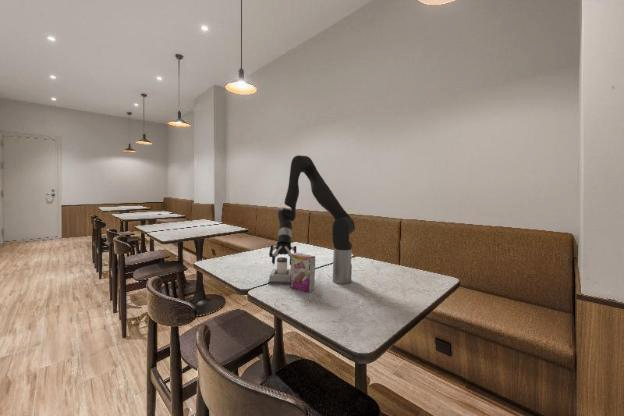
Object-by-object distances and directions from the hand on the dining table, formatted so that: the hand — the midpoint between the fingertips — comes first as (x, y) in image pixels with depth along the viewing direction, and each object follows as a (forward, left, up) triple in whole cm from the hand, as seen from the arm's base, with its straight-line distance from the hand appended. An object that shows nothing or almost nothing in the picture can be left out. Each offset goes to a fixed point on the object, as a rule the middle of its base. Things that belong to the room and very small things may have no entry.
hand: (282, 264), depth 138 cm
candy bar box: (-11, +11, -9) cm, 18 cm away
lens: (0, 0, -7) cm, 7 cm away
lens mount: (0, 0, -8) cm, 8 cm away
